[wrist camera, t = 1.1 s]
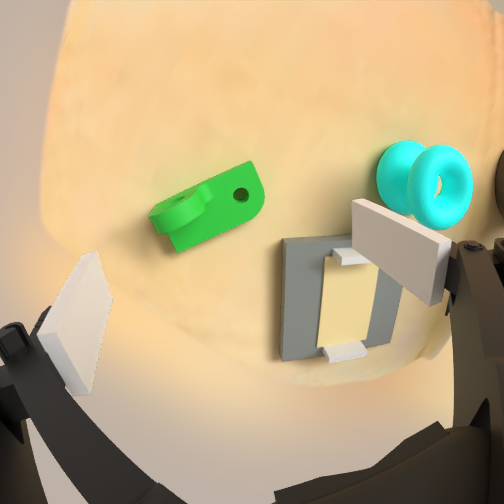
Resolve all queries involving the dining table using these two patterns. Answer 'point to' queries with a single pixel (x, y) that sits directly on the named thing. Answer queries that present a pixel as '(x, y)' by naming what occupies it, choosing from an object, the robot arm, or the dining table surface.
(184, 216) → the mechanical part
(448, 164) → the donuts
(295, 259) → the grey square plate
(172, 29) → the dining table surface
